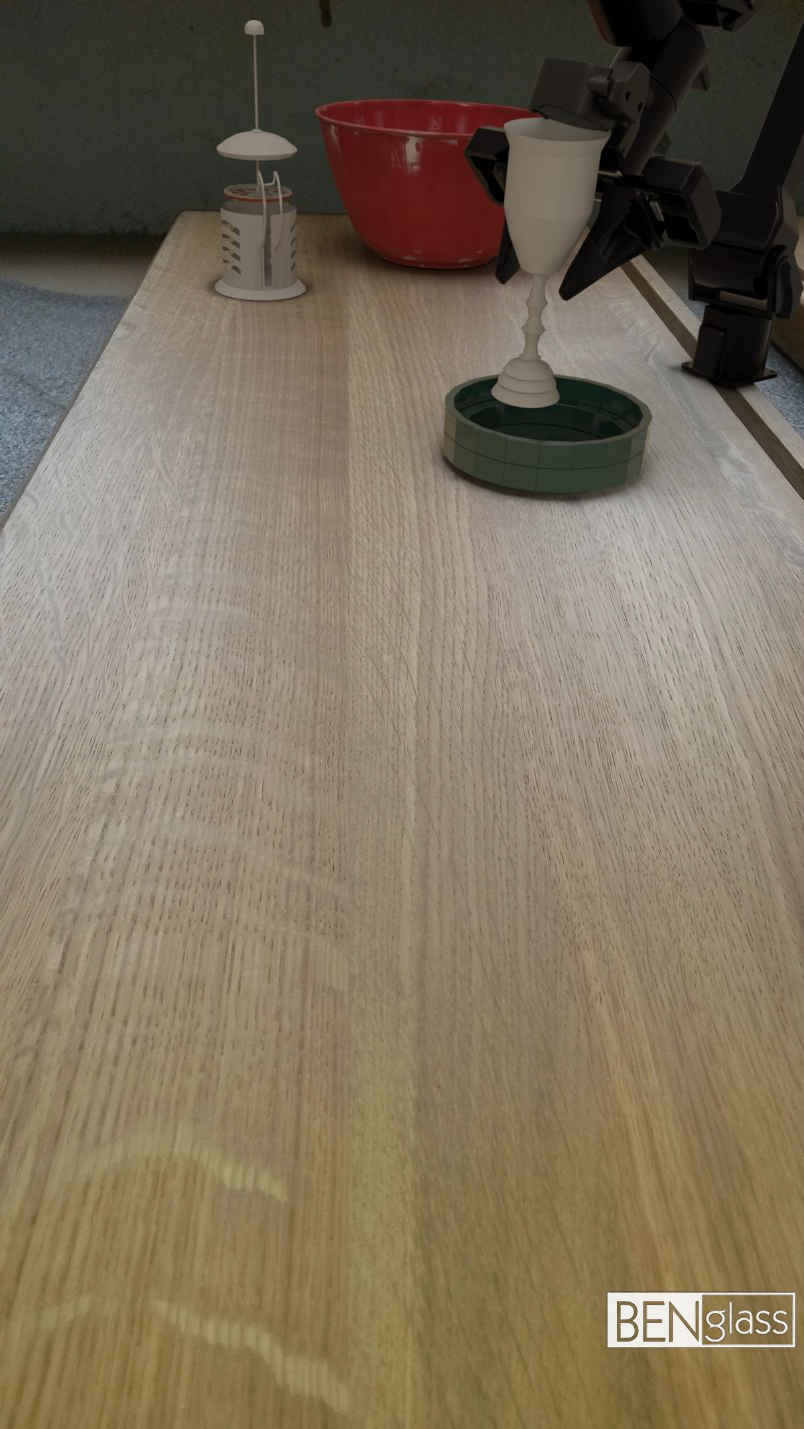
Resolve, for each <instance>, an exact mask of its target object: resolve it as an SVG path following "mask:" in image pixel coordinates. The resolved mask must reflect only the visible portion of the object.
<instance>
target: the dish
mask: <svg viewBox="0 0 804 1429" xmlns="http://www.w3.org/2000/svg"><path fill="white" fill-rule="evenodd" d="M500 374H501V373H496V374H491V375H486V376H480V377H476V378H472V379H468V380H467V381H464V382H462V383H460V384H458V385H455V386H453V387H452V388H451V389H450V391H449V392H448V393H447V394H446V395H445V396H444V402H443V418H442V419H443V420H442V433H441V448H442V449H441V451H442V454H443V455H444V456H445V458H446V459H447V460H448V461H449V462H450V463H451V464H452V465H453V467H455V468H457V469H459V470H460V471H462V472H464V473H466V474H468V475H470V476H472V477H473V478H476V479H479V480H481V481H484V482H486V483H489V484H492V485H495V486H498V487H501V488H505V489H508V490H513V491H518V492H524V493H532V494H541V495H543V494H544V495H574V494H577V495H578V494H585V493H593V492H596V491H602V490H607V489H610V488H614V487H617V486H621V485H624V484H626V483H628V482H629V481H631V480H632V479H634V478H636V477H637V476H639V475H640V474H641V473H642V470H643V468H644V466H645V463H646V460H647V454H648V449H649V443H650V442H649V441H650V437H651V429H652V424H653V418H654V416H653V414H652V412H651V410H650V408H649V406H648V405H647V404H646V403H645V402H643V401H642V400H641V399H639V398H638V397H637V396H635V395H634V394H632V393H630V392H627V391H625V390H622V389H620V388H618V387H616V386H613V385H610V384H608V383H604V382H600V381H597V380H592V379H590V378H589V379H588V378H583V377H578V376H572V375H566V374H565V375H564V374H557V373H553V377H554V379H555V381H556V386H555V387H556V389H557V391H558V393H559V397H560V399H559V400H558V401H557V402H556V403H554V404H552V405H550V406H546V407H538V408H527V407H518V406H513V405H509V404H506V403H503V402H501V401H499V400H498V399H496V398H495V397H494V396H493V395H492V388H493V387H494V386H495V384H496V383H497V382H498V377H499V376H500Z"/></svg>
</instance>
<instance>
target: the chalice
mask: <svg viewBox="0 0 804 1429" xmlns="http://www.w3.org/2000/svg"><path fill="white" fill-rule="evenodd" d="M504 130H505V133H506V136H507V139H508V142H509V145H510V149H509V159H508V169H507V179H506V189H505V199H504V210H505V215H506V220H507V225H508V229H509V234H510V237H511V240H512V243H513V246H514V249H515V252H516V255H517V258H518V261H519V264H520V269H521V270H523V271H524V272H525V273H527V274H530V275H531V288H530V292H529V296H528V297H527V298H526V299H525V301H524V303H525V305H526V307H527V312H528V317H527V319H526V322H525V323H524V324H523V325H522V326H521V327H520V330H521V331H522V332H523V334H524V342H525V344H524V348H523V351H522V352H521V353H520V354H519V355H518V357H513V358H511V359H510V360H509V361H508V362H507V363H506V364H504V366H503V367H502V372H501V373H499V374H500V376H499V377H498V382H497V383H496V384H495V386H494V387H493V388H492V395H493V396H494V397H495V398H496V399H498V400H499V401H501V402H503V403H506V404H509V405H513V406H518V407H527V408H538V407H546V406H550V405H552V404H554V403H556V402H557V401H558V400H559V399H560V397H559V393H558V391H557V389H556V387H555V386H556V381H555V379H554V377H553V374H554V370H553V369H552V367H551V365H550V364H549V363H548V362H547V361H545V360H543V359H542V356H541V355H540V354H539V348H538V347H539V346H538V344H539V341H540V340H541V336H542V335H543V334H544V333H545V332H546V330H547V329H546V328H545V327H544V324H543V322H542V321H543V320H542V315H543V312H544V311H545V308H546V307H547V306H548V304H549V301H547V298H546V289H545V288H546V284H547V281H548V277H549V276H552V275H555V274H558V273H560V272H561V270H562V269H563V267H564V265H565V264H566V262H567V261H568V259H569V257H570V256H571V255H572V253H573V251H574V250H575V248H576V246H577V244H578V243H579V241H580V240H581V237H582V236H583V234H584V231H585V230H586V227H587V225H588V223H589V220H590V219H591V216H592V214H593V210H594V203H595V200H594V197H595V190H596V183H597V176H598V169H599V162H600V155H601V151H602V149H603V147H604V146H605V144H606V143H607V141H608V139H609V138H610V136H611V131H610V130H609V131H608V132H605V131H596V130H587V129H582V128H577V127H574V126H570V125H566V124H563V123H560V122H557V121H554V120H551V119H549V120H547V119H544V118H525V119H517V120H512V121H509V122H507V123H505V124H504Z"/></svg>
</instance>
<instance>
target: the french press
mask: <svg viewBox="0 0 804 1429" xmlns="http://www.w3.org/2000/svg"><path fill="white" fill-rule="evenodd" d="M244 34H246V35H252V37H253V38H252V39H253V72H254V73H253V75H254V76H253V77H254V114H255V115H254V116H255V128H253V129H251V130H249V131H243V132H239V133H236V134H234V135H232V136H229V137H228V138H226V139H225V140H223V141H222V142H221V143H219V144H218V145H217V146H216V151H217V153H218V154H219V155H220V156H222V157H224V158H231V159H235V160H242V161H243V160H245V161H255V162H256V182H254V183H250V182H249V183H248V184H247V183H242V184H241V183H240V184H239V183H238V184H233V185H231V184H230V185H229V186H226V187H225V188H223V195H224V196H225V197H226V198H229V199H231V200H229V201H226V202H224V203H222V204H221V205H220V222H221V225H223V226H221V237H222V238H223V239H221V247H222V248H221V249H222V250H223V251H224V252H222V253H221V254H222V262H223V265H222V277H221V278H220V279H219V280H218V281H217V282H216V283H215V284H214V290H215V291H216V292H218V293H219V294H220V295H222V296H226V297H229V298H234V299H240V300H248V301H278V300H287V299H291V298H294V297H298V296H301V295H302V294H304V293H305V292H306V291H307V288H306V285H305V284H304V283H303V282H302V280H300V279H299V278H297V277H298V263H297V262H295V261H296V260H297V257H298V255H297V249H296V248H297V247H296V246H297V245H298V244H297V237H295V235H296V234H297V224H295V223H296V220H297V207H296V205H295V204H293V203H290V202H287V201H286V200H289V199H291V198H292V197H293V196H294V192H293V191H292V189H291V188H288V187H286V186H283V185H281V183H280V182H281V181H280V178H279V177H280V176H279V175H278V172H277V171H276V170H274V171H273V174H272V175H273V177H272V182H269V183H268V182H267V183H264V180H263V176H262V172H261V171H260V161H278V160H285V159H288V158H291V157H293V156H295V154H297V152H298V148H297V147H296V146H295V145H294V144H292V143H291V142H290V141H288V140H287V139H286V138H285V137H282V136H280V135H278V134H275V133H272V132H267V131H264V130H262V129H261V128H259V111H258V110H259V109H258V108H259V107H258V106H259V104H258V64H257V62H258V61H257V59H258V58H257V36H259V35H260V36H261V35H265V28H264V25H263V23H262V22H261V21H260V20H256V19H252V20H248V21H247V22H246V23H245V25H244ZM276 182H277V184H276ZM224 225H226V226H228V225H232V226H233V228H231V229H229V228H228V227H226V226H224ZM230 238H231V239H232V240H233V241H231V242H230V241H228V240H227V239H230ZM227 251H232V252H233V253H232V254H230V253H227ZM229 263H231V264H232V265H233V266H228V265H226V264H229Z"/></svg>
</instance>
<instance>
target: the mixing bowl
mask: <svg viewBox="0 0 804 1429" xmlns="http://www.w3.org/2000/svg"><path fill="white" fill-rule="evenodd" d="M314 114H315V115H316V117H317V118H318V121H319V126H320V132H321V136H322V140H323V146H324V149H325V153H326V157H327V162H328V165H329V168H330V171H331V175H332V179H333V181H334V184H335V187H336V189H337V193H338V196H339V197H340V201H341V203H342V206H343V207H344V211H345V213H346V214H347V217H348V219H349V222H350V223H351V225H352V227H353V229H354V231H355V232H356V234H357V236H358V237H359V238H360V239H361V240H362V242H364V244H365V245H367V246H368V247H369V248H370V249H372V250H373V251H375V252H376V253H377V255H378V256H379V257H380V258H381V259H383V260H385V261H388V262H391V263H394V264H399V265H401V266H403V265H404V266H409V267H414V268H422V269H423V268H424V269H445V270H450V269H452V270H453V269H467V268H474V267H479V266H482V265H485V264H487V263H489V262H490V261H491V259H494V258H496V257H498V254H499V248H500V242H501V237H502V231H503V225H504V219H505V210H504V207H502V206H498V205H496V204H495V203H494V202H492V201H491V200H489V198H488V197H487V195H486V193H485V191H484V190H483V188H482V186H481V184H480V183H479V181H478V179H477V178H476V176H475V174H474V172H473V171H472V169H471V167H470V166H469V164H468V162H467V160H466V159H465V157H464V155H463V151H464V150H465V148H466V146H467V145H468V143H469V141H470V139H471V138H472V136H473V134H474V133H475V131H476V130H477V128H478V127H484V126H493V127H499V128H504V124H505V123H507V122H509V121H512V120H517V119H525V118H543V117H541V116H540V115H539V114H538V113H535V114H534V113H531V112H530V111H529V110H528V109H527V108H519V107H514V106H508V105H499V104H490V103H479V102H468V101H456V100H437V99H408V98H407V99H406V98H405V99H404V98H403V99H402V98H401V99H400V98H391V99H389V98H387V99H386V98H385V99H360V100H347V101H339V102H333V103H328V104H324V105H321V106H319V107H317V108H316V109H315V111H314Z"/></svg>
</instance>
